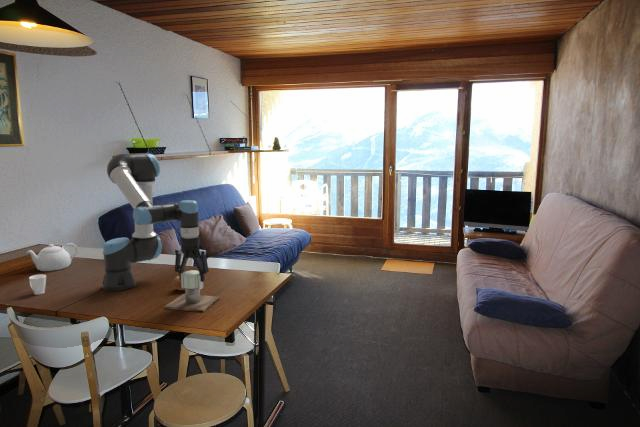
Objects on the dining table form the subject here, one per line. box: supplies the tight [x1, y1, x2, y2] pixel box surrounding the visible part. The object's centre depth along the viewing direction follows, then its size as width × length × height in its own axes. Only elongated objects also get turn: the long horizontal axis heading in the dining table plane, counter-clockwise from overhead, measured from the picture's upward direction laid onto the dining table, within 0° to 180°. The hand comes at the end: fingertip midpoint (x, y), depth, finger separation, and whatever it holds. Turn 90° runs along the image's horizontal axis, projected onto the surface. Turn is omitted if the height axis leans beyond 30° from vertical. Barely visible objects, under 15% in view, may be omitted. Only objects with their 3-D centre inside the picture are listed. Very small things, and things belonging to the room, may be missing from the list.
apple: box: [173, 275, 185, 291], centre depth 210 cm, size 8×8×8 cm
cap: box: [183, 269, 200, 289], centre depth 190 cm, size 7×7×6 cm
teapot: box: [26, 242, 79, 272], centre depth 248 cm, size 19×18×14 cm
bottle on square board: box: [164, 287, 221, 313], centre depth 191 cm, size 18×16×12 cm
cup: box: [28, 273, 47, 295], centre depth 206 cm, size 7×10×8 cm
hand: (192, 287), depth 191 cm, fingers closed on cap, 7 cm apart
